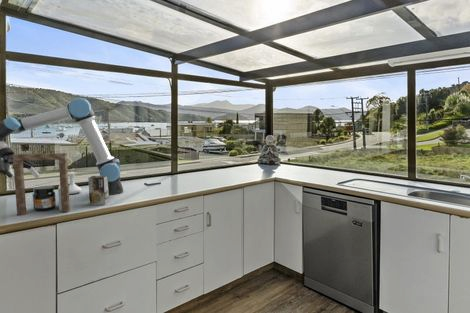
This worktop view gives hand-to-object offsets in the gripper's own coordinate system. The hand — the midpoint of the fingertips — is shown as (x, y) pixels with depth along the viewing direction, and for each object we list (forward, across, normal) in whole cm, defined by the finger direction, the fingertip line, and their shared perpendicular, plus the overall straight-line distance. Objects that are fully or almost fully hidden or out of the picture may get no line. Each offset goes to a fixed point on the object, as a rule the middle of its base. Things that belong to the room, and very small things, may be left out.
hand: (27, 178), depth 166 cm
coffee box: (+34, -16, +11) cm, 39 cm away
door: (+24, -3, +2) cm, 25 cm away
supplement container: (+19, 0, -4) cm, 19 cm away
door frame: (+23, +7, 0) cm, 24 cm away
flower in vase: (+9, -37, -14) cm, 40 cm away
